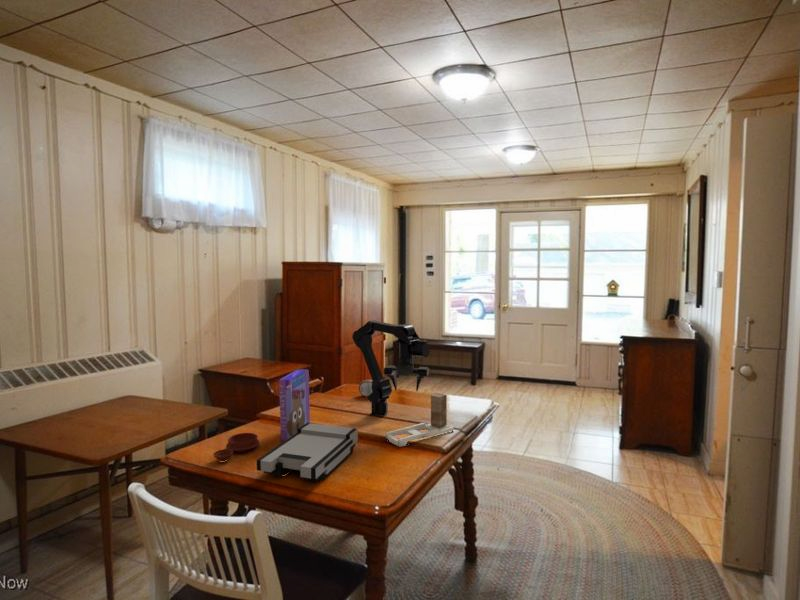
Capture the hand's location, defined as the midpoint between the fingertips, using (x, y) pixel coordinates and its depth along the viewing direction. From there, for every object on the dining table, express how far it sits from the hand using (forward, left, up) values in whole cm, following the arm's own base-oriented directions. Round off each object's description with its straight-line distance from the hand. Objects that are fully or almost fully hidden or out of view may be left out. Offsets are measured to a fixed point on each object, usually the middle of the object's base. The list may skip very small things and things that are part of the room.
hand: (406, 390), depth 206 cm
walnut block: (+15, -10, -11) cm, 21 cm away
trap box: (+9, -17, -13) cm, 23 cm away
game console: (-22, -50, -14) cm, 56 cm away
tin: (-24, +31, -13) cm, 41 cm away
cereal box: (-40, -24, -13) cm, 49 cm away
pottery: (-52, -47, -13) cm, 72 cm away
